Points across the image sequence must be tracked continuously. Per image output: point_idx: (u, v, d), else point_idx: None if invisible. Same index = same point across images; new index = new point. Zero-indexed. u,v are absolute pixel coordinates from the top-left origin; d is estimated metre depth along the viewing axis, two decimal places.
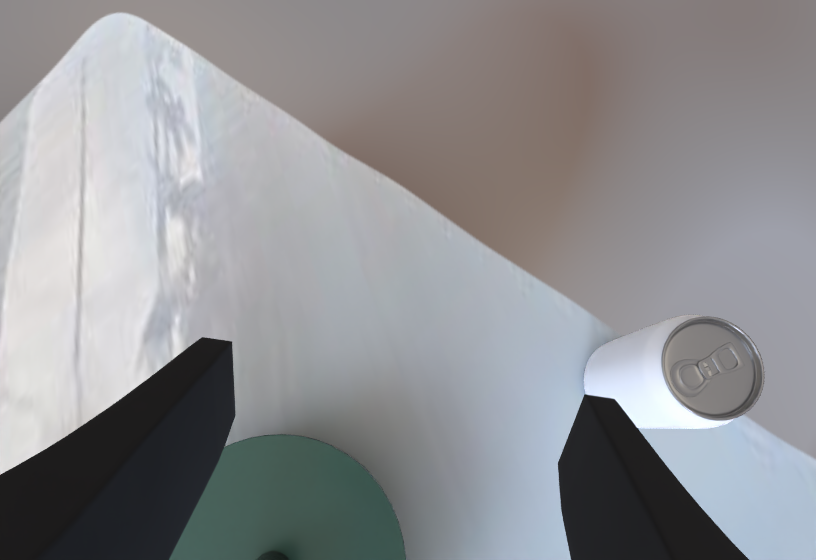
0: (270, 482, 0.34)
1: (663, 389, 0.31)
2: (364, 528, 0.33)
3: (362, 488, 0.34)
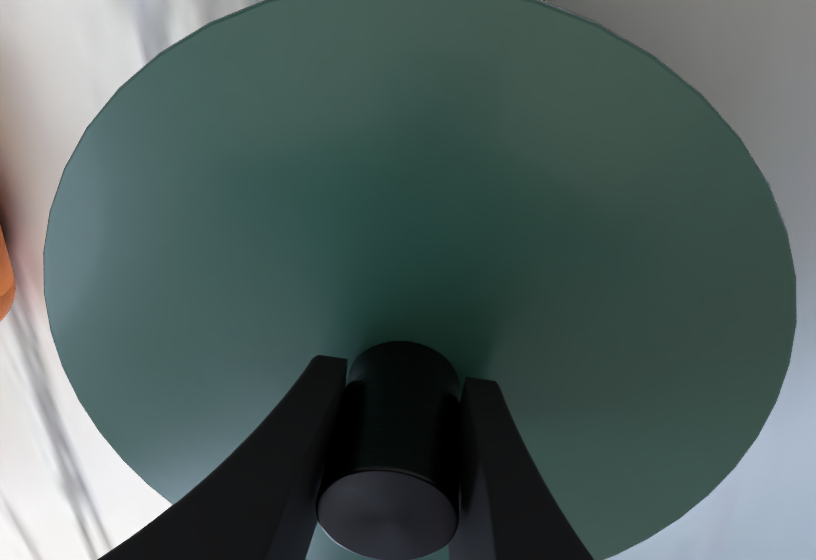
0: (445, 166, 0.10)
1: None
2: (688, 356, 0.11)
3: (738, 259, 0.10)
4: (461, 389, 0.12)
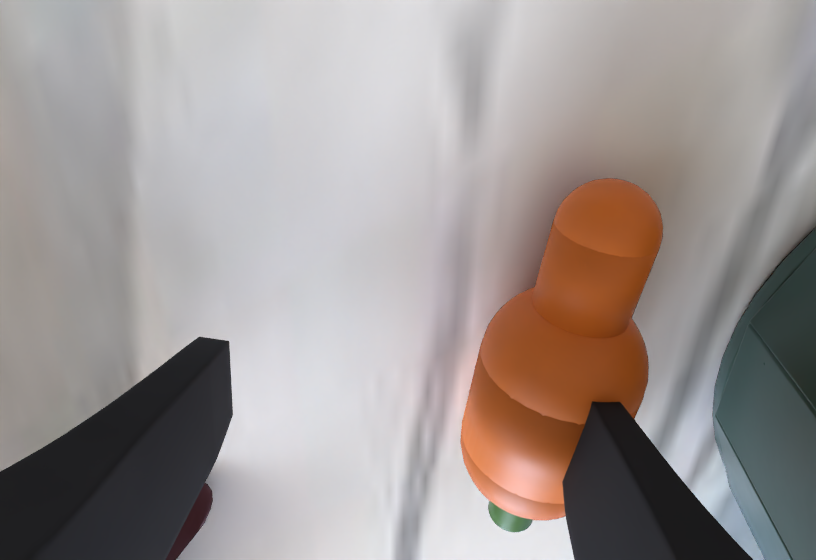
0: None
1: None
2: None
3: None
4: None
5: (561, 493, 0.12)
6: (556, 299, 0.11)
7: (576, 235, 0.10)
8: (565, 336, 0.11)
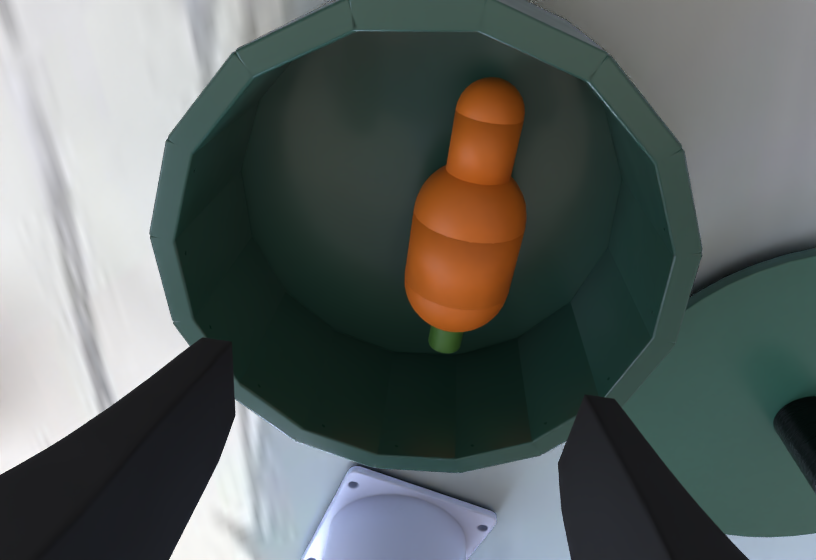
0: None
1: None
2: None
3: None
4: None
5: None
6: None
7: None
8: None
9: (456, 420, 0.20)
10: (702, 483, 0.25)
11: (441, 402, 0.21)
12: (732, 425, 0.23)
